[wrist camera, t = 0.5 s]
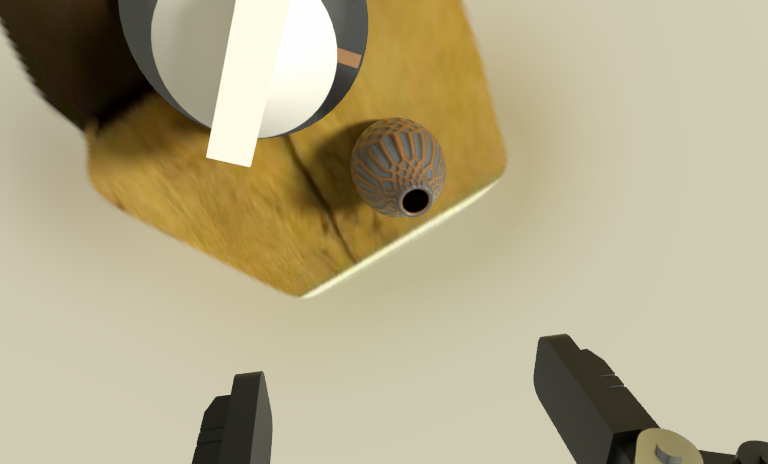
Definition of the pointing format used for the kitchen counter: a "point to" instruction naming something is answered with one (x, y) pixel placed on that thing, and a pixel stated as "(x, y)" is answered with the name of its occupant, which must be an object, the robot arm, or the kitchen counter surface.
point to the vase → (398, 167)
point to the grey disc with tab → (348, 24)
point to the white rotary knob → (245, 66)
